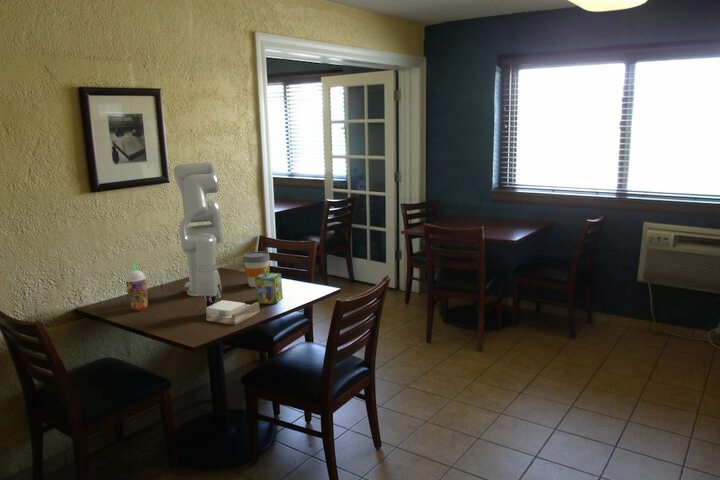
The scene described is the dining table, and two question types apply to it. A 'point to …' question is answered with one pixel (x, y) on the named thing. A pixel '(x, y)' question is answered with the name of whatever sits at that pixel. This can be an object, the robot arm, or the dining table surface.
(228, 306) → the carton
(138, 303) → the smoothie
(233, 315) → the open wooden frame
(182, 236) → the robot arm
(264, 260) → the reusable coffee cup
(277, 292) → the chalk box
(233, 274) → the dining table surface
